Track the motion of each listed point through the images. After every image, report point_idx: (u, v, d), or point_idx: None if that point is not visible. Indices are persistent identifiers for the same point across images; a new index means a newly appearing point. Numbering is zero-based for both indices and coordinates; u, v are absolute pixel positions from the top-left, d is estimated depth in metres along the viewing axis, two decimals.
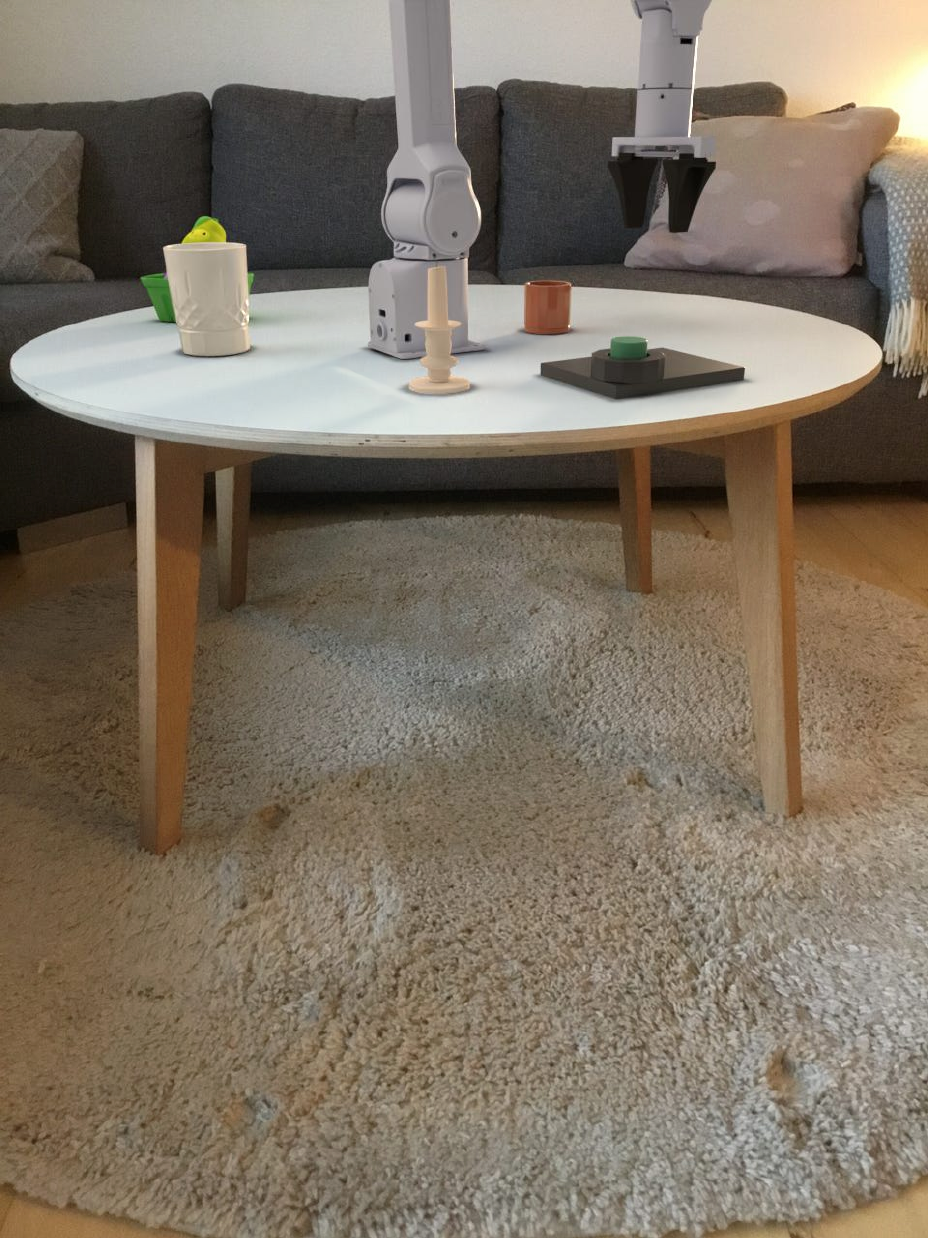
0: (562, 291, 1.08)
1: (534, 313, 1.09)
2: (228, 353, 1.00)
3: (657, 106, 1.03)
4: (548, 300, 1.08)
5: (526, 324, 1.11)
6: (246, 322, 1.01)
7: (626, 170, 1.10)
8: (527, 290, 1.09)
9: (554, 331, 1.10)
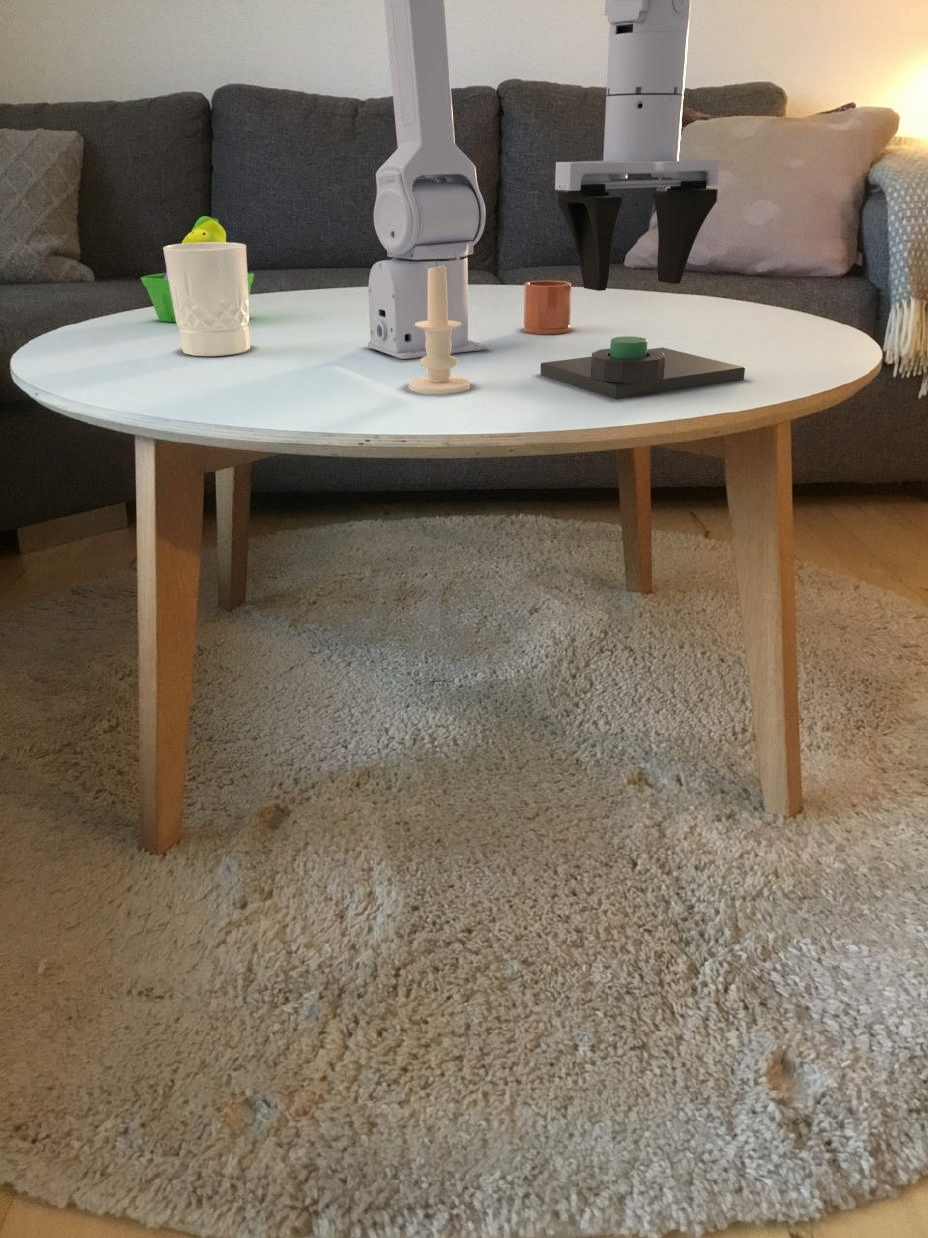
0: (562, 291, 1.08)
1: (534, 313, 1.09)
2: (228, 353, 1.00)
3: None
4: (548, 300, 1.08)
5: (526, 324, 1.11)
6: (246, 322, 1.01)
7: (661, 204, 0.82)
8: (527, 290, 1.09)
9: (554, 331, 1.10)
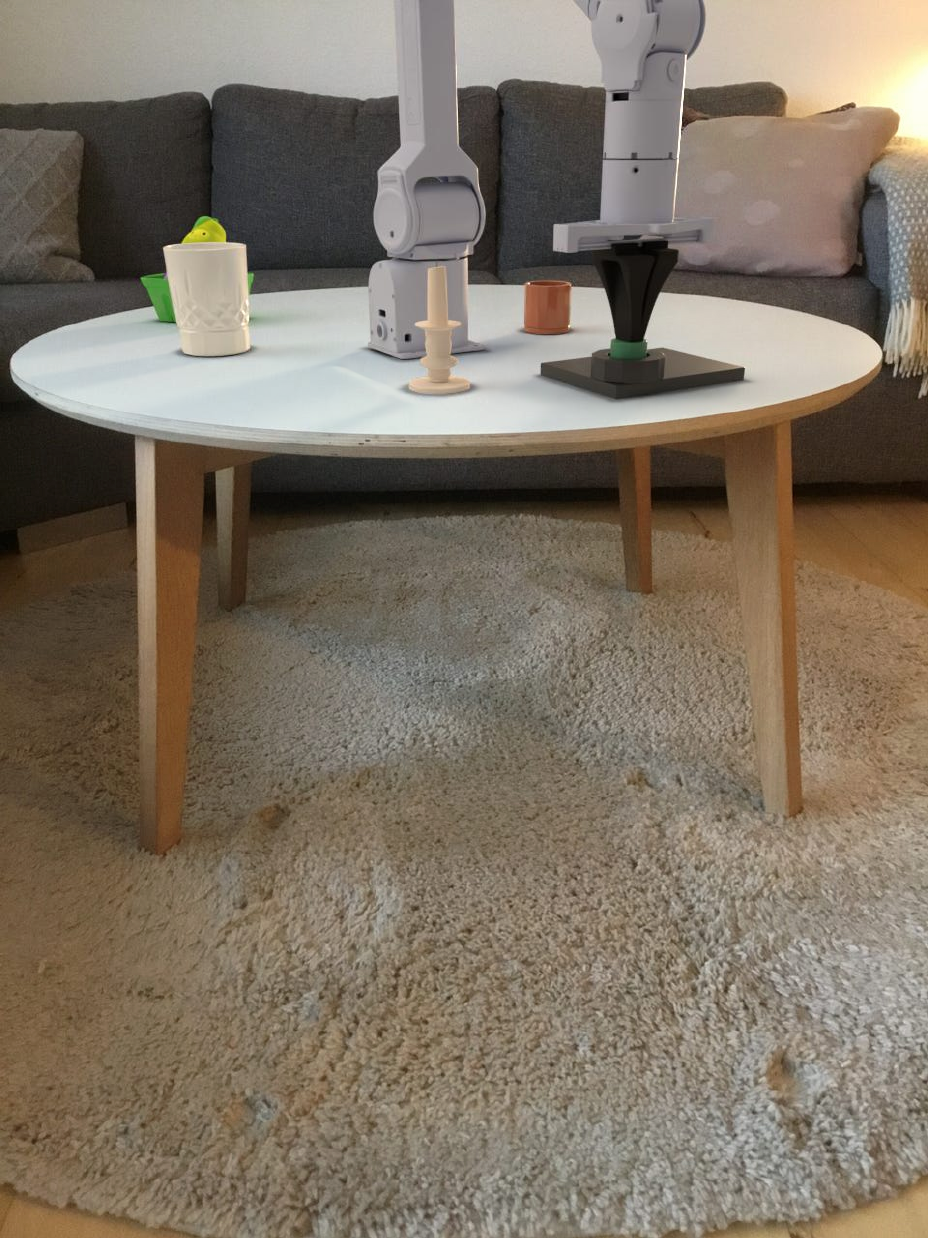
0: (562, 291, 1.08)
1: (534, 313, 1.09)
2: (228, 353, 1.00)
3: None
4: (548, 300, 1.08)
5: (526, 324, 1.11)
6: (246, 322, 1.01)
7: None
8: (527, 290, 1.09)
9: (554, 331, 1.10)
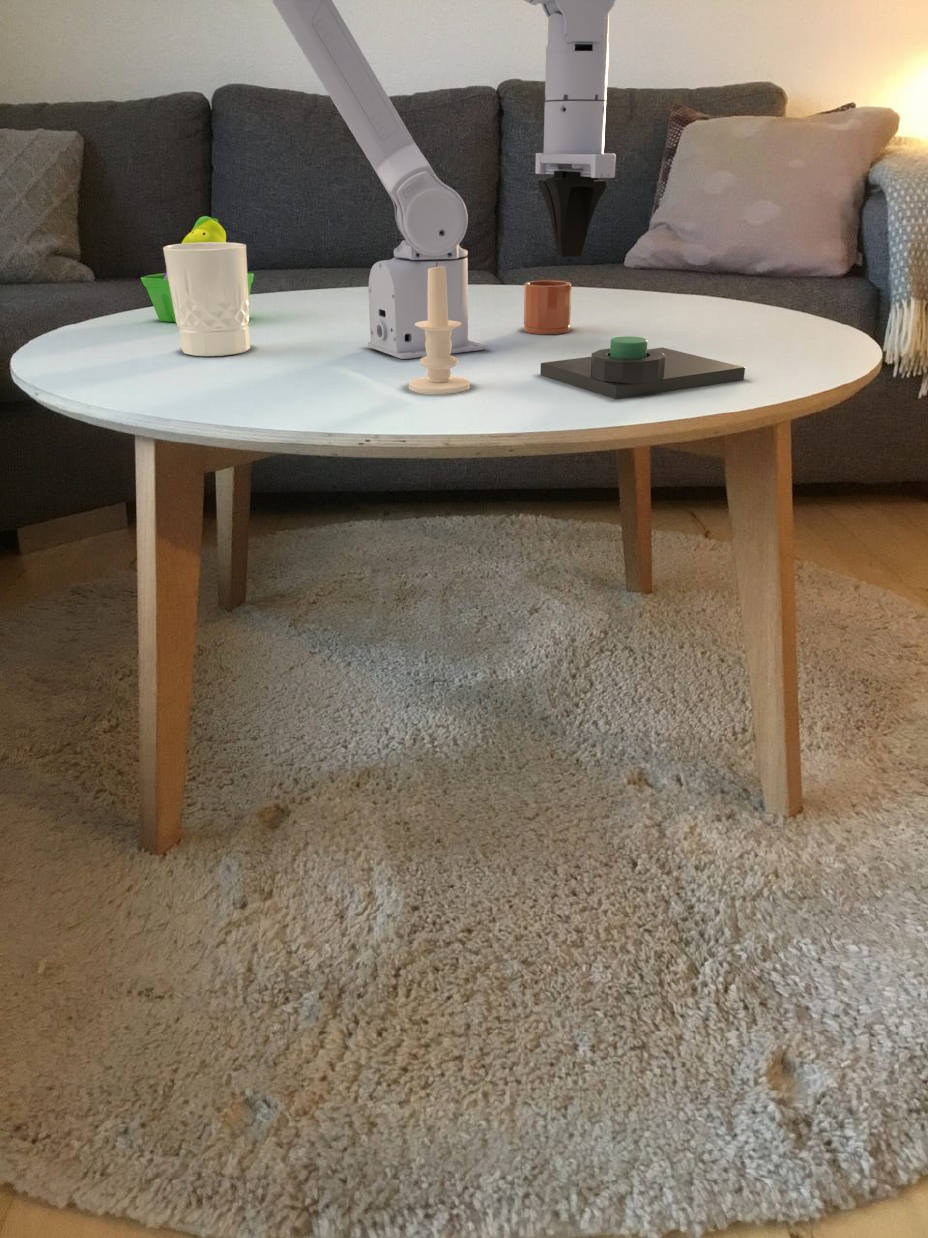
0: (562, 291, 1.08)
1: (534, 313, 1.09)
2: (228, 353, 1.00)
3: (559, 120, 0.93)
4: (548, 300, 1.08)
5: (526, 324, 1.11)
6: (246, 322, 1.01)
7: None
8: (527, 290, 1.09)
9: (554, 331, 1.10)
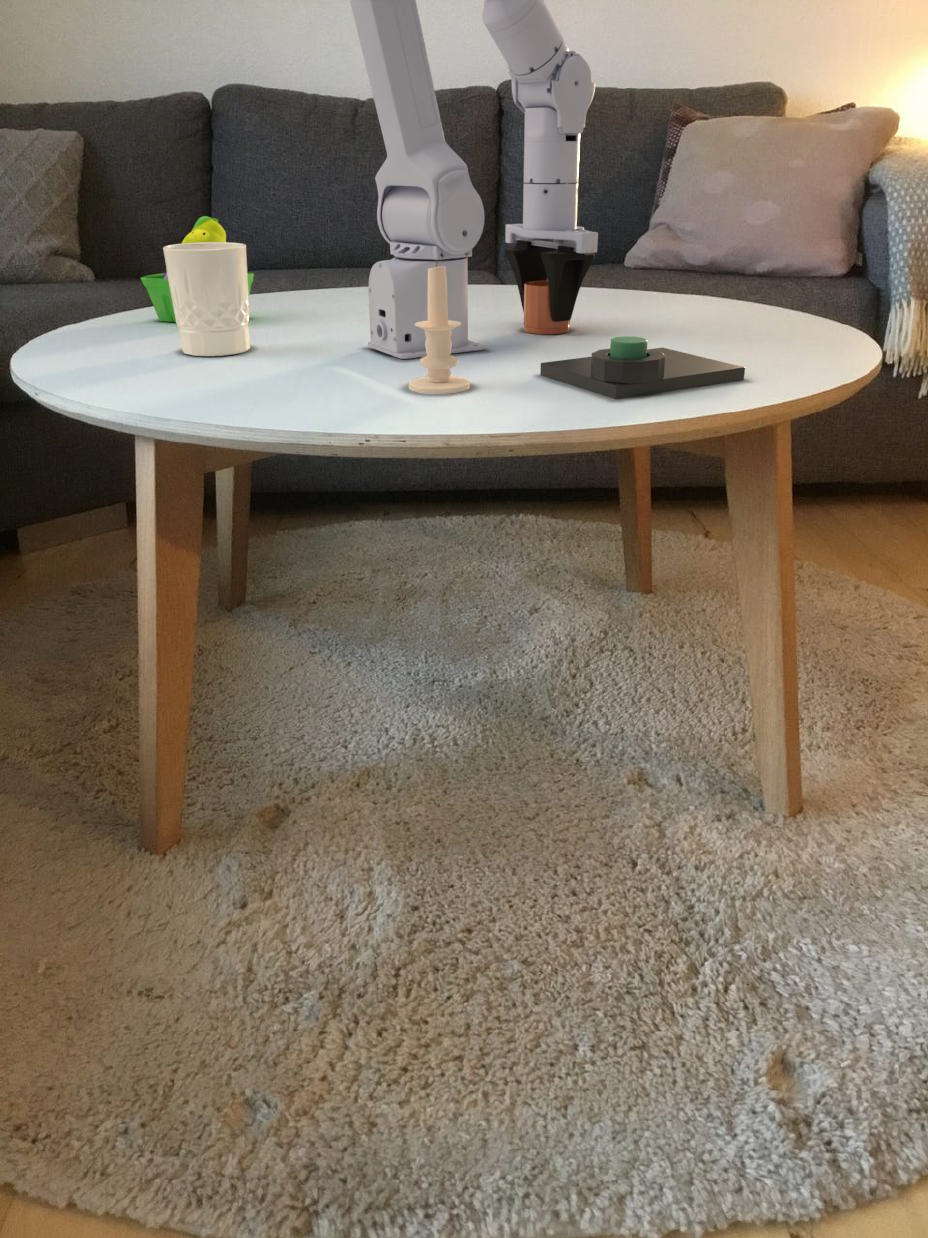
0: None
1: (534, 313, 1.09)
2: (228, 353, 1.00)
3: (541, 201, 1.04)
4: (548, 300, 1.08)
5: (526, 324, 1.11)
6: (246, 322, 1.01)
7: (522, 259, 1.10)
8: (527, 290, 1.09)
9: (554, 331, 1.10)
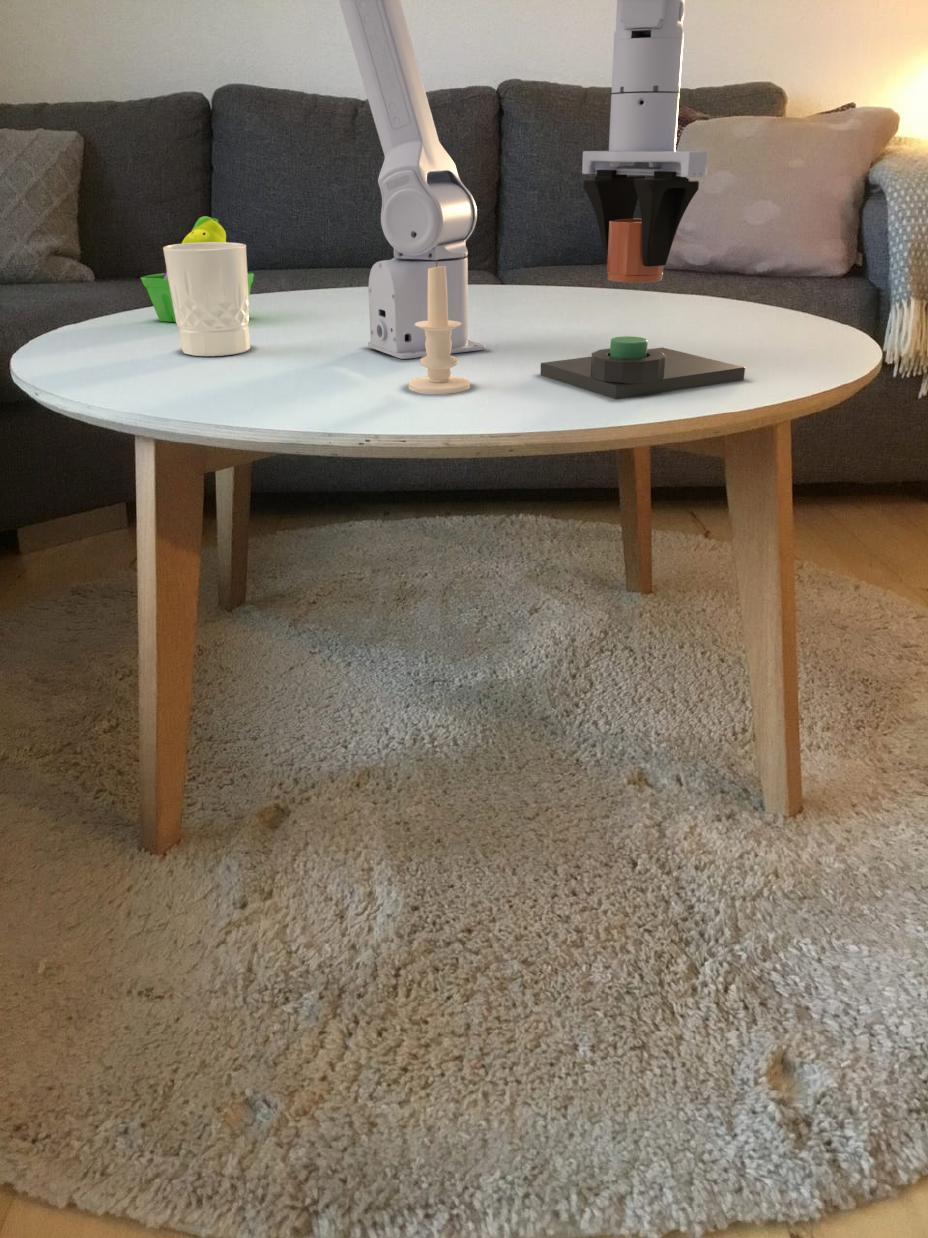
0: None
1: (622, 256, 0.90)
2: (228, 353, 1.00)
3: (635, 114, 0.84)
4: (640, 240, 0.88)
5: (611, 271, 0.91)
6: (246, 322, 1.01)
7: (606, 191, 0.90)
8: (613, 228, 0.89)
9: (646, 278, 0.90)
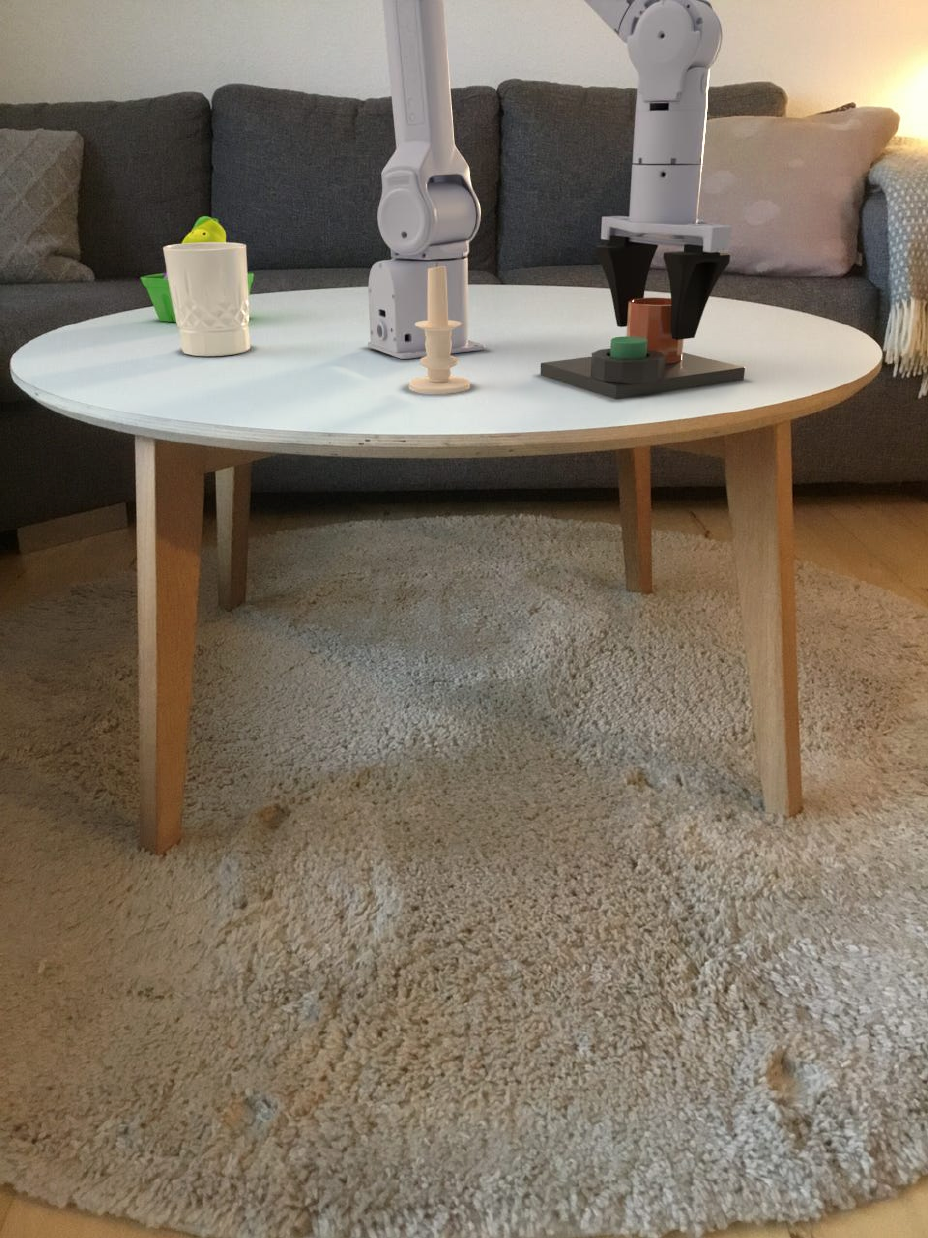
0: None
1: None
2: (228, 353, 1.00)
3: (657, 186, 0.82)
4: (660, 323, 0.87)
5: None
6: (246, 322, 1.01)
7: (619, 258, 0.90)
8: (633, 310, 0.88)
9: (666, 360, 0.89)
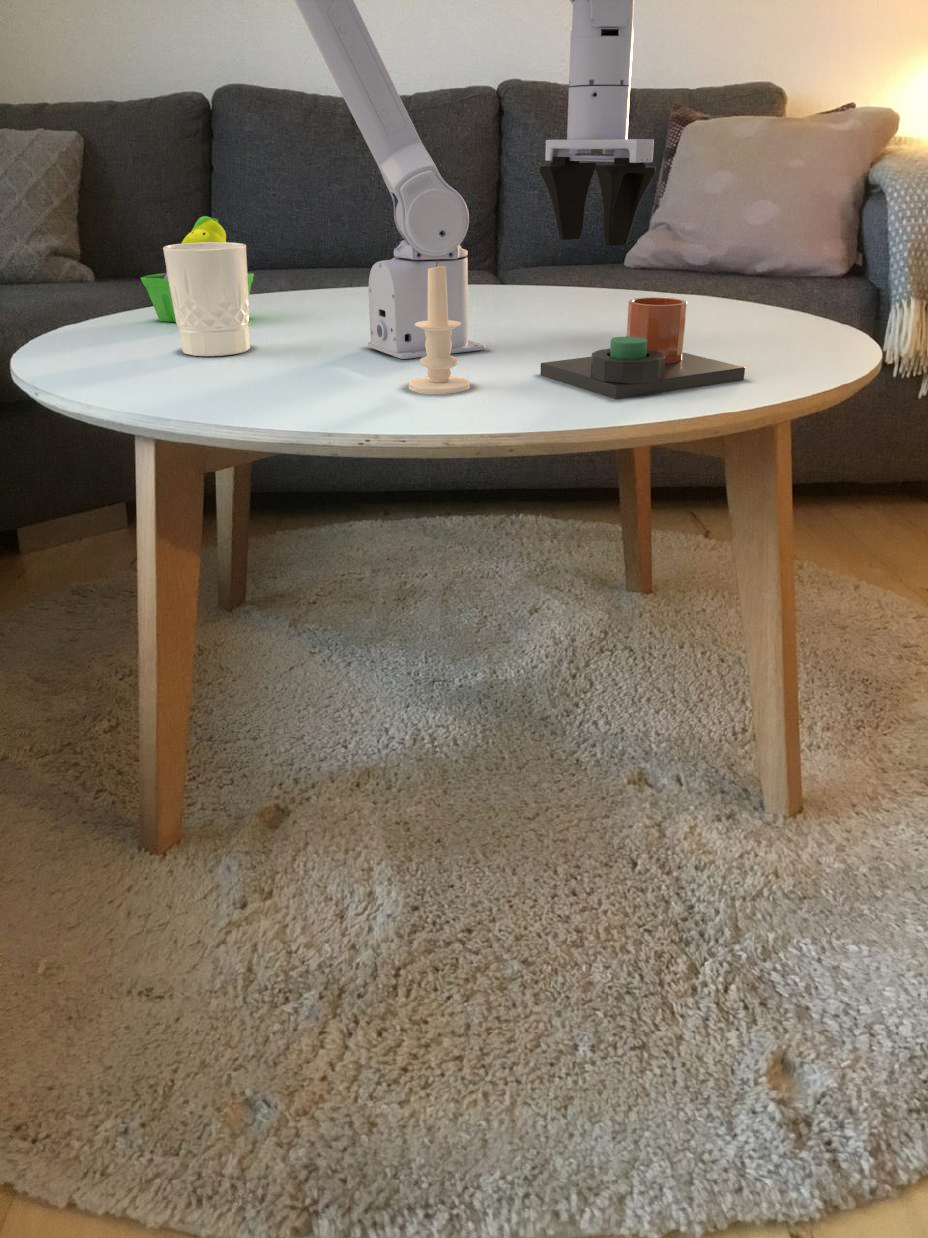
0: (677, 311, 0.87)
1: None
2: (228, 353, 1.00)
3: (589, 105, 0.93)
4: (660, 323, 0.87)
5: None
6: (246, 322, 1.01)
7: (560, 176, 1.00)
8: (633, 310, 0.88)
9: (666, 360, 0.89)
